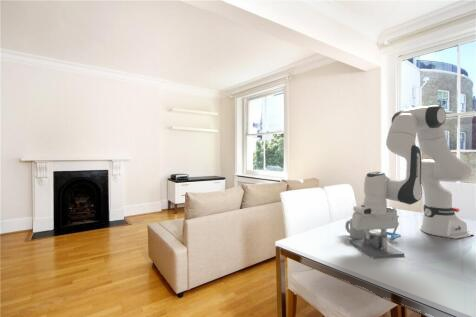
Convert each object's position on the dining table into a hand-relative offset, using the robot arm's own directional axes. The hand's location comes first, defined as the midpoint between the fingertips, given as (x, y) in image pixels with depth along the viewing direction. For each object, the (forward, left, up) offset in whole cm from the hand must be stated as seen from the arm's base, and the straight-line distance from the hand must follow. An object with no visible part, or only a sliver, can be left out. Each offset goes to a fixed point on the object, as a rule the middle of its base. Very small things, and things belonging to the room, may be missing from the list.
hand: (374, 238), depth 105 cm
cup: (0, -15, -5) cm, 16 cm away
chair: (-18, -13, -5) cm, 23 cm away
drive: (0, 0, -2) cm, 3 cm away
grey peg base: (0, 0, -5) cm, 5 cm away
